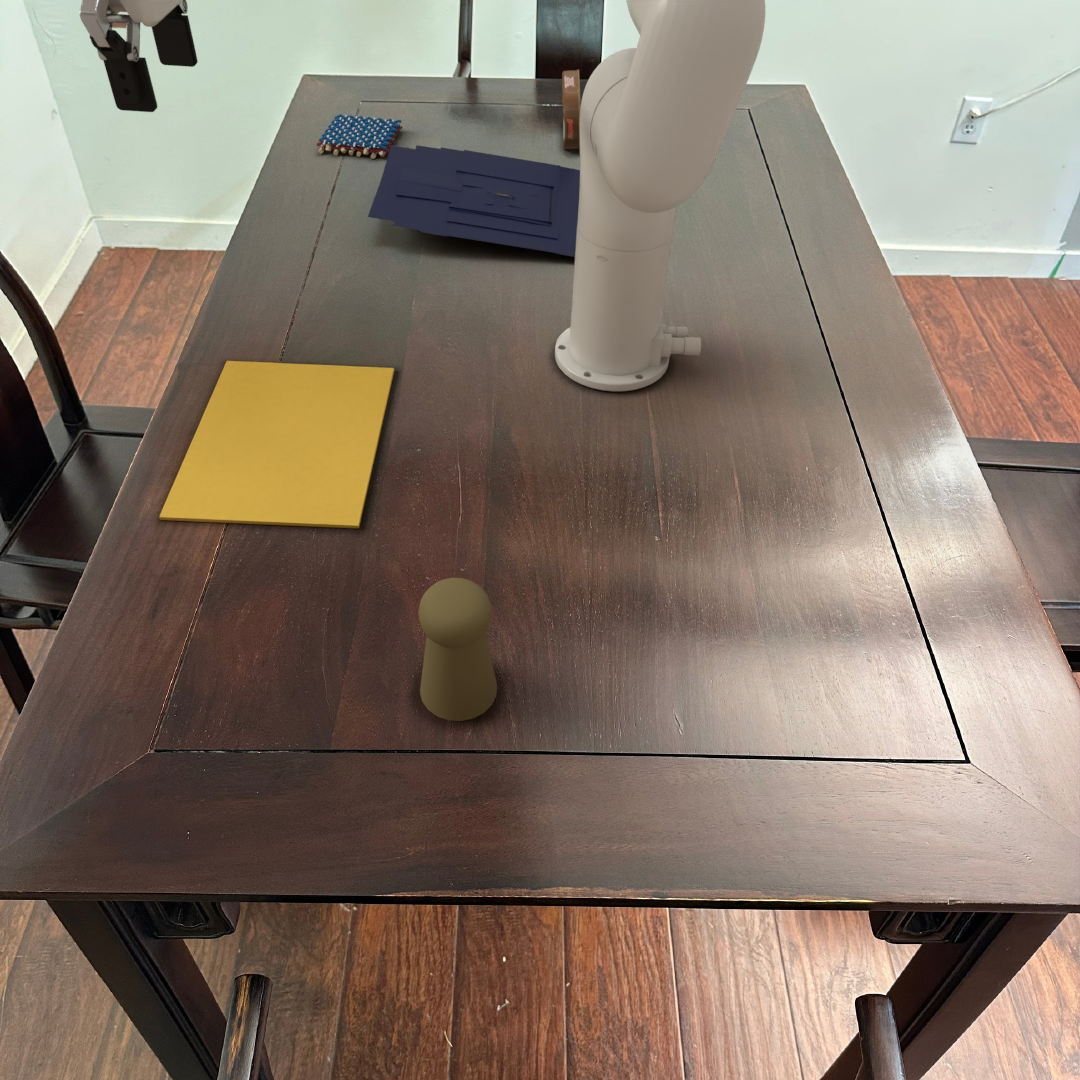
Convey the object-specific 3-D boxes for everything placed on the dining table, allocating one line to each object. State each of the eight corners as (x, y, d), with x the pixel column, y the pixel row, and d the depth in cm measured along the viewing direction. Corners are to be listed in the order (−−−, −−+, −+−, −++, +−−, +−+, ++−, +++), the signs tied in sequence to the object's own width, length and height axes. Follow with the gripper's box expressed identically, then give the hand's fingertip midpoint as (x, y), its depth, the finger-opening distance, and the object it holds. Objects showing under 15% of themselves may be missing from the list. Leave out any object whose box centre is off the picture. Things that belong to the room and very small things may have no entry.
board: (394, 370, 104) (394, 367, 104) (359, 528, 87) (358, 525, 87) (227, 363, 104) (226, 360, 104) (159, 520, 87) (158, 517, 87)
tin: (581, 159, 141) (584, 100, 135) (559, 158, 141) (562, 100, 135) (579, 117, 152) (582, 61, 146) (559, 116, 152) (562, 60, 146)
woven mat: (335, 124, 147) (334, 111, 145) (404, 131, 146) (403, 117, 145) (315, 154, 140) (313, 140, 138) (386, 161, 139) (385, 147, 137)
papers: (392, 158, 137) (393, 133, 134) (600, 192, 139) (605, 168, 136) (364, 244, 120) (365, 217, 117) (602, 281, 122) (608, 255, 120)
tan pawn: (487, 727, 73) (486, 637, 65) (410, 713, 74) (399, 621, 66) (505, 665, 77) (506, 572, 69) (432, 651, 78) (424, 558, 70)
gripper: (101, -131, 63) (167, 132, 75) (190, -182, 75) (234, 51, 87) (-11, -137, 63) (72, 126, 75) (95, -187, 75) (153, 47, 87)
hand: (159, 86), depth 81 cm, fingers open, 9 cm apart
